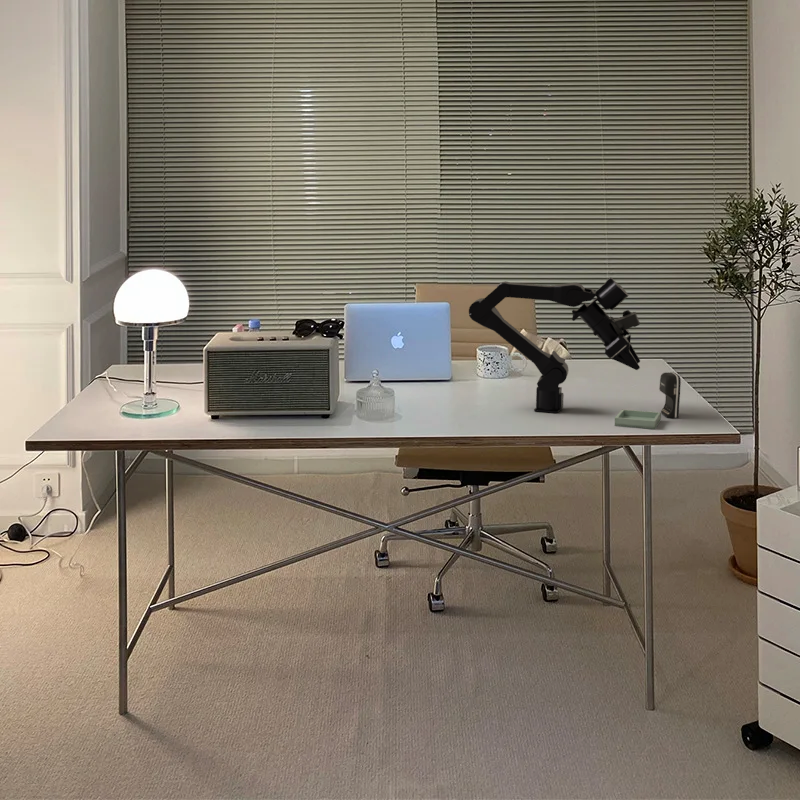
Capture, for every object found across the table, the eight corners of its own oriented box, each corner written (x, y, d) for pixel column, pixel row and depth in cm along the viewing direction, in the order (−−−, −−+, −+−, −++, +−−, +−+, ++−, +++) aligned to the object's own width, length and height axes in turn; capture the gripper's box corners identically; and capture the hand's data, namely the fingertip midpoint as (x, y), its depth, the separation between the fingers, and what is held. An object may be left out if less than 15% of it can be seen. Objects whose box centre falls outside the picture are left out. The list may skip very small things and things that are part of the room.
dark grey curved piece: (656, 412, 280) (658, 370, 277) (670, 412, 280) (673, 370, 278) (664, 419, 273) (667, 376, 271) (679, 418, 273) (681, 375, 271)
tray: (614, 425, 266) (614, 417, 266) (621, 417, 275) (622, 409, 275) (654, 429, 263) (654, 421, 262) (660, 420, 272) (661, 412, 271)
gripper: (621, 306, 264) (663, 351, 264) (623, 297, 282) (662, 339, 282) (588, 335, 267) (629, 380, 268) (592, 324, 285) (630, 366, 285)
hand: (638, 365), depth 275 cm, fingers open, 9 cm apart
